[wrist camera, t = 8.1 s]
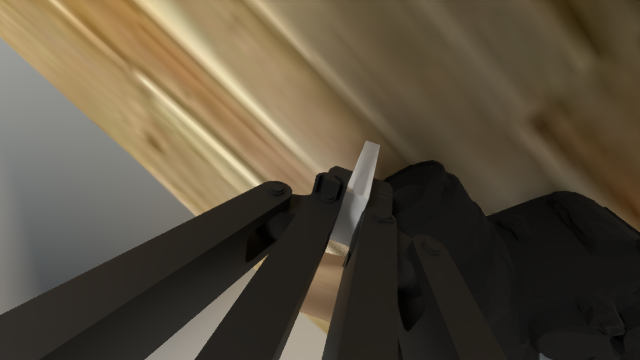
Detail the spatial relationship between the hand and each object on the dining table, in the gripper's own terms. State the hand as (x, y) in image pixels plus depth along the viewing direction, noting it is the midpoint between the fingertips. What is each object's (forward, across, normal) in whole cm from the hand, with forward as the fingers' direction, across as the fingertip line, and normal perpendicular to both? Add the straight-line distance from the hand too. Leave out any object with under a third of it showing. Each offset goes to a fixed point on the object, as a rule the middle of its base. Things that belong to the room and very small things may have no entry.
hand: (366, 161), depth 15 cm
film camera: (+2, +7, -3) cm, 7 cm away
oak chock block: (+2, -1, -13) cm, 13 cm away
